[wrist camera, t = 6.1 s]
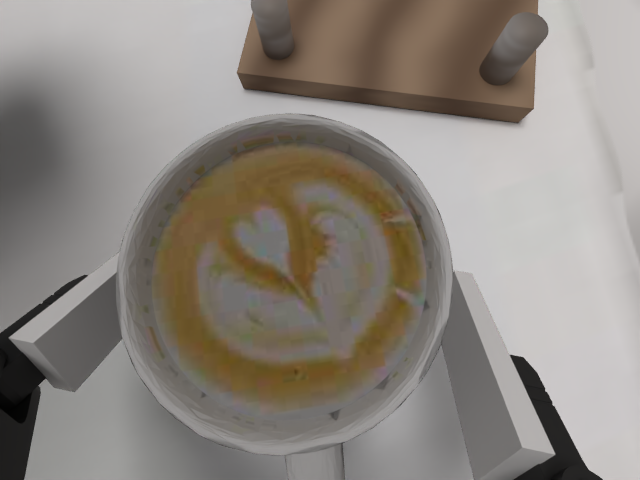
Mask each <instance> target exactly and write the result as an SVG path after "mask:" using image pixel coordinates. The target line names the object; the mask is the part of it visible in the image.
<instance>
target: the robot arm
mask: <svg viewBox="0 0 640 480" xmlns="http://www.w3.org/2000/svg"><path fill="white" fill-rule="evenodd" d="M119 253H120V252H118V253H117V254H116V255H114V256H113V257H112V258H111V259H109V260H108V261H107V262H105V263H104V264H103V265H102V266H100V267H99V268H98V269H96V270H95V271H94V272H93V273H91V274H90V275H89V276H88V275H83V276H81V277H79V278H77V279H75V280H73V281H71V282H69V283H67V284H66V285H64V286H63V287H62V288H60V289H59V290H58V291H56V292H55V293H54V295H51V296H50V297H48V298H47V299H46V300H44V301H43V303H42V304H39V305H38V306H36V307H35V308H34V309H32V310H31V311H30V312H28V313H27V314H26V315H24V316H23V317H22V318H20V319H19V320H18V321H16V322H15V323H14V324H12V325H11V326H10V327H8V328H7V329H5V330H4V331H3V332H1V333H0V480H24V477H25V472H26V467H27V462H28V457H29V451H30V446H31V441H32V436H33V431H34V425H35V420H36V415H37V410H38V405H39V400H40V394H41V392H40V387H39V386H38V385H39V384H40V383H41V382H42V381H43V380H44V379H45V378H46V379H47V380H48V381H49V382H50V384H51V385H52V386H53V387H54V388H59V389H63V390H68V391H72V392H75V391H76V390H77V389H78V388H79V387H80V386H81V385H82V383H83V382H84V381H85V380H86V379H87V378H88V377H89V376H90V374H91V373H92V372H93V371H94V370H95V369H96V368H97V366H98V365H99V364H100V363H101V362H102V361H103V360H104V359H105V357H106V356H107V355H108V354H109V353H110V352H111V351H112V349H113V348H114V347H115V346H116V345H117V344H118V343H119V342H120V340H121V339H122V335H121V330H120V325H119V318H118V311H117V304H116V273H117V264H118V256H119ZM441 345H442V349H443V353H444V357H445V361H446V365H447V369H448V373H449V378H450V382H451V386H452V390H453V394H454V398H455V402H456V406H457V411H458V415H459V419H460V423H461V427H462V431H463V435H464V440H465V444H466V448H467V452H468V456H469V460H470V464H471V468H472V473H473V477H474V480H603V479H601V478H600V477H599V476H597V475H596V474H594V473H593V472H591V471H590V470H588V468H587V467H586V465H585V463H584V462H583V460H582V458H581V456H580V454H579V452H578V451H577V449H576V447H575V445H574V443H573V441H572V439H571V437H570V435H569V433H568V431H567V430H566V428H565V426H564V424H563V422H562V420H561V418H560V416H559V414H558V412H557V410H556V408H555V407H554V406H553V405H552V401H551V399H550V397H549V395H548V393H547V392H545V387H544V385H543V384H542V382H541V380H540V378H539V376H538V374H537V372H536V371H535V370H534V369H533V368H532V367H531V365H530V364H529V363H528V362H527V361H526V360H525V359H524V358H523V357H519V356H514V355H509V353H508V350H507V348H506V346H505V344H504V342H503V340H502V337H501V335H500V333H499V331H498V329H497V327H496V324H495V322H494V320H493V318H492V316H491V314H490V311H489V309H488V307H487V305H486V303H485V301H484V298H483V296H482V294H481V292H480V290H479V288H478V285H477V283H476V281H475V279H474V277H473V275H472V273H466V272H460V271H454V272H453V296H452V302H451V308H450V313H449V319H448V324H447V327H446V330H445V333H444V336H443V338H442V341H441Z"/></svg>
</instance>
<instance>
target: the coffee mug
mask: <svg viewBox="0 0 640 480" xmlns="http://www.w3.org/2000/svg"><path fill="white" fill-rule="evenodd" d="M452 296H453V266H452V258H451V251H450V246H449V241H448V238H447V234H446V231H445V228H444V225H443V222H442V219H441V216H440V213H439V211H438V209H437V207H436V205H435V202H434V200H433V199H432V197H431V196H430V194H429V192H428V191H427V189H426V188H425V186H424V185H423V183H422V182H421V180H420V179H419V178H418V176H417V175H416V173H415V172H414V171H413V170H412V169H411V168H410V167H409V166H408V165H407V163H406V162H405V161H404V160H403V159H402V158H400V157H399V156H398V155H397V154H395V153H394V152H393V151H392V150H391V149H389V148H388V147H387V146H386V145H385V144H383V143H382V142H381V141H379V140H377V139H376V138H374V137H372V136H370V135H369V134H367V133H365V132H364V131H361V130H359V129H357V128H354V127H352V126H350V125H347V124H345V123H342V122H339V121H335V120H331V119H327V118H323V117H319V116H315V115H304V114H276V115H265V116H259V117H254V118H249V119H246V120H243V121H239V122H236V123H233V124H230V125H227V126H225V127H222V128H220V129H218V130H216V131H214V132H212V133H210V134H208V135H206V136H205V137H203V138H201V139H200V140H198V141H196V142H195V143H193V144H192V145H190V146H189V147H188V148H186V149H185V150H184V151H183V152H181V153H180V154H179V155H178V156H177V157H176V158H174V159H173V160H172V161H171V162H170V163H169V164H167V165H166V166H165V168H164V169H163V170H162V171H161V172H160V173H159V174H158V176H157V177H156V178H155V179H154V180H153V182H152V183H151V184H150V185H149V187H148V188H147V190H146V191H145V193H144V195H143V196H142V198H141V200H140V201H139V203H138V205H137V206H136V208H135V210H134V212H133V215H132V217H131V219H130V222H129V224H128V227H127V229H126V232H125V234H124V238H123V241H122V245H121V249H120V253H119V256H118V264H117V273H116V304H117V311H118V318H119V325H120V330H121V335H122V338H123V341H124V343H125V346H126V348H127V351H128V354H129V356H130V359H131V362H132V364H133V366H134V367H135V369H136V371H137V373H138V375H139V376H140V378H141V379H142V381H143V382H144V384H145V385H146V387H147V388H148V389H149V390H150V392H151V393H152V394H153V395H154V397H155V398H156V399H157V400H158V402H159V403H160V404H161V405H162V406H163V407H164V408H165V409H166V410H167V411H168V412H169V413H170V414H171V415H172V416H173V417H174V418H176V419H177V420H179V421H180V422H181V423H183V424H184V425H186V426H187V427H189V428H190V429H191V430H193V431H194V432H196V433H197V434H198V435H200V436H202V437H204V438H206V439H208V440H211V441H213V442H215V443H217V444H220V445H222V446H226V447H230V448H234V449H238V450H242V451H246V452H250V453H254V454H266V455H285V460H286V467H287V474H288V480H345V472H344V458H343V446H342V443H344V442H346V441H348V440H350V439H352V438H354V437H356V436H358V435H360V434H362V433H364V432H366V431H368V430H370V429H372V428H373V427H375V426H376V425H377V424H378V423H380V422H381V421H382V420H383V419H385V418H386V417H387V416H389V415H390V414H391V413H392V412H394V411H395V410H396V409H397V408H398V407H399V406H400V405H401V404H402V403H403V402H404V401H405V400H406V398H407V397H408V396H409V395H410V394H411V393H412V391H413V390H414V389H415V388H416V387H417V386H418V384H419V383H420V382H421V380H422V379H423V377H424V376H425V374H426V373H427V371H428V370H429V368H430V366H431V364H432V362H433V360H434V358H435V356H436V354H437V352H438V350H439V347H440V344H441V341H442V338H443V336H444V333H445V330H446V327H447V324H448V319H449V313H450V308H451V302H452Z"/></svg>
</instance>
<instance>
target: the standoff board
mask: <svg viewBox="0 0 640 480" xmlns="http://www.w3.org/2000/svg"><path fill="white" fill-rule="evenodd" d="M251 8H252V11H253V13H252V17H251V21H250V25H249V29H248V32H247V36H246V40H245V44H244V48H243V51H242V55H241V59H240V63H239V67H238V70H237V74H238V76H239V79H240V81H241V83H242V85H243V88H245V89H253V90H261V91H269V92H277V93H285V94H293V95H301V96H309V97H317V98H325V99H333V100H341V101H349V102H357V103H365V104H373V105H381V106H389V107H397V108H405V109H413V110H421V111H429V112H437V113H445V114H453V115H461V116H469V117H477V118H484V119H492V120H500V121H508V122H516V123H518V122H519V121H521V120H522V119H523V118H524V117H525V116H526V115H527V114H528V113H529V112H531V111H532V110H533V109H534V89H535V65H536V49H537V48H538V46H539V45H540V44H541V43H542V42H543V41H544V39H545V38H546V37H547V35H548V25H547V23H546V22H545V20H544V19H543V18H542V17H540V16H539V15H538V0H251Z"/></svg>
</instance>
